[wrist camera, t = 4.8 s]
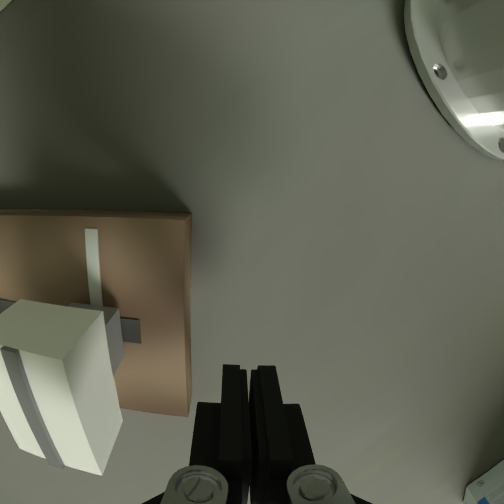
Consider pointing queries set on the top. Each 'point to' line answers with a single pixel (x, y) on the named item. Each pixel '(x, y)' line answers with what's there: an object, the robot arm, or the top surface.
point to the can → (4, 4)
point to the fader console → (113, 288)
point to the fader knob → (61, 381)
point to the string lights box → (487, 487)
